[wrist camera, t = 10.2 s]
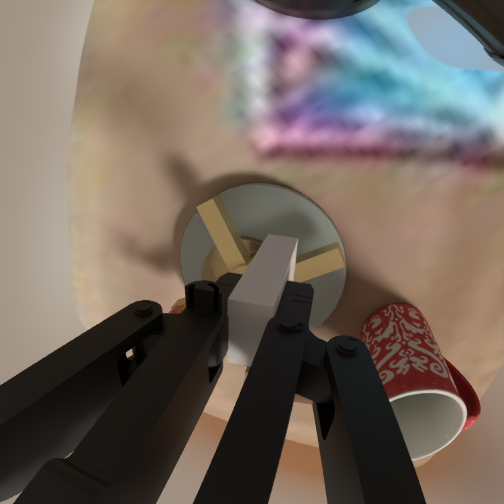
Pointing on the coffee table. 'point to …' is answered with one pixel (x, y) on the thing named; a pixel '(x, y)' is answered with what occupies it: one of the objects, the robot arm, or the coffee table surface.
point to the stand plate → (276, 223)
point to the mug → (419, 380)
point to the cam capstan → (251, 250)
